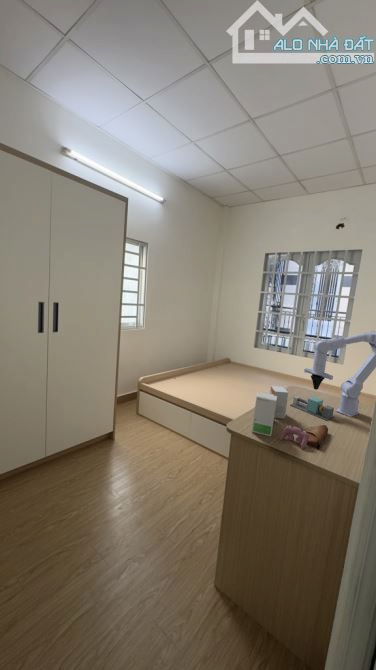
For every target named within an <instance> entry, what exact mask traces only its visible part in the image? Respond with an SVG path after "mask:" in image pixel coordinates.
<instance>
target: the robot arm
mask: <svg viewBox="0 0 376 670" xmlns="http://www.w3.org/2000/svg"><path fill="white" fill-rule="evenodd" d="M360 342H363V343H368V344H369V346H370V348H371V351H372V352H371V353H370V355H369V356H368V357H367V358H366V360H365V361H364V362H363V363H362V364H361V365H360V367H359V368H358V370H357V371H356V372H355V373H354V374H353V376H351V377H349V378H348V379H347V380H345V381H343V382H342V383H341V385H340V389H341V391H342V392H341V395H340V398H339V399H340V400H339V407H338V408H337V409H334V411H335V412H337V413H340V414H343V415H345V416H348V417H349V418H350V417H351V418H353V417H354V416H356V415H359V414H360V412H359V411H358V410H359V405H360V400H359V397H360V396H361V391H362V390H363V389H364V388H363V387H364V382H365V381H366V380H367V379H368V378H369V377H370V376H371V374H372V373H373V372H374V371H375V369H376V330H372V331H366V332H363V333H362V332H361V333H359V334H354V335H351V336H348V337H344V338H343V337H341V336H338V335H336V336H334V337H333V338H328V339H327V338H325V339H324V340H318V341H316V343H315V344H314V348H315V349H314V350H315V353H314V359H313V363H312V364H313V366H312V368H304V370H303V373H307V374H310V378H311V380H312V385H313V390H315V391H316V390H319V388H320V385H321V383H322V382H323V381H324V380H325V379H327V380H330V381H332V380H334V376H333V375H332V374H329V373H326V365H327V359H328V353H329V352H330V351H336V350H339V349H343V348H345V346H346V345H350V344H356V343H360Z"/></svg>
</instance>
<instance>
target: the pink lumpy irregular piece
mask: <svg viewBox="0 0 376 670" xmlns="http://www.w3.org/2000/svg"><path fill="white" fill-rule="evenodd" d="M305 431H306V430H305ZM305 431H304V430H303V429H302V428H300V427H297V426H294V425H287V426H286V427H284V429H283V431H282V432H281V434H280V436H279V438H280V441H283V440H284V439H286V437H287V439H288V440H289V441H295V443H296V444H298V445H300V448H301V450H304V449H305V448H306V446H307V445H306V444H307V441H308V439H309V435H308V434H307V433H306V432H305ZM294 435H295V436H297V437H296V438H295V436H294Z"/></svg>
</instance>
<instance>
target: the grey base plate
mask: <svg viewBox="0 0 376 670" xmlns="http://www.w3.org/2000/svg"><path fill="white" fill-rule="evenodd" d="M289 406H290V407H293V408H296V409H298V410H300V411H302V412H305V413H307V414H310V415H312V416H314V417H317V418H319V419H322V420H324V421H329V420H332V419H335V417H336V416H334V415H333V417H332V418H329V419H327V418H325V417H323V416H322V412H319V413H313V412H311V411H308V410H306V409H307V404H305V403H302V402H300V401H299V404H298V405H295V404H293V403H290V404H289Z"/></svg>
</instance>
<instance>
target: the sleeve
mask: <svg viewBox="0 0 376 670" xmlns="http://www.w3.org/2000/svg"><path fill="white" fill-rule="evenodd" d="M307 401H308V402H307V404H306V405H307V409H306V410H308V411H311V412H313V413H319V412H321V411H319V409H318V406H321V405H322V406H324V405H323V404H324V400H323V399H322V398H318V397H315V396H313V397H308V398H307Z"/></svg>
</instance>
